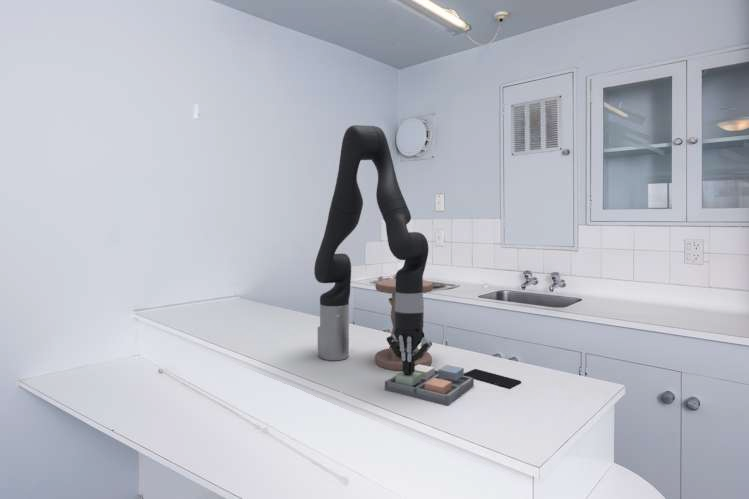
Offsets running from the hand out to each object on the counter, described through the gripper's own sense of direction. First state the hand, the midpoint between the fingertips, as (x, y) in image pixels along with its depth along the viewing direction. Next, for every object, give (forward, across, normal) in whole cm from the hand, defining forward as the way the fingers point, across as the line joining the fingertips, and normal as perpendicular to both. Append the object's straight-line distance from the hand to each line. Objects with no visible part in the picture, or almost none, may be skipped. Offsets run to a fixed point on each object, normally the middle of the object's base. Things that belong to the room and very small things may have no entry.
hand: (408, 374), depth 123 cm
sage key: (+2, 0, 0) cm, 2 cm away
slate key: (+1, +8, +8) cm, 12 cm away
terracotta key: (+2, +8, 0) cm, 9 cm away
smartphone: (+5, +15, +20) cm, 25 cm away
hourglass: (+4, -13, +19) cm, 23 cm away
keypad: (+4, +4, +4) cm, 7 cm away
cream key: (+2, 0, +8) cm, 8 cm away
